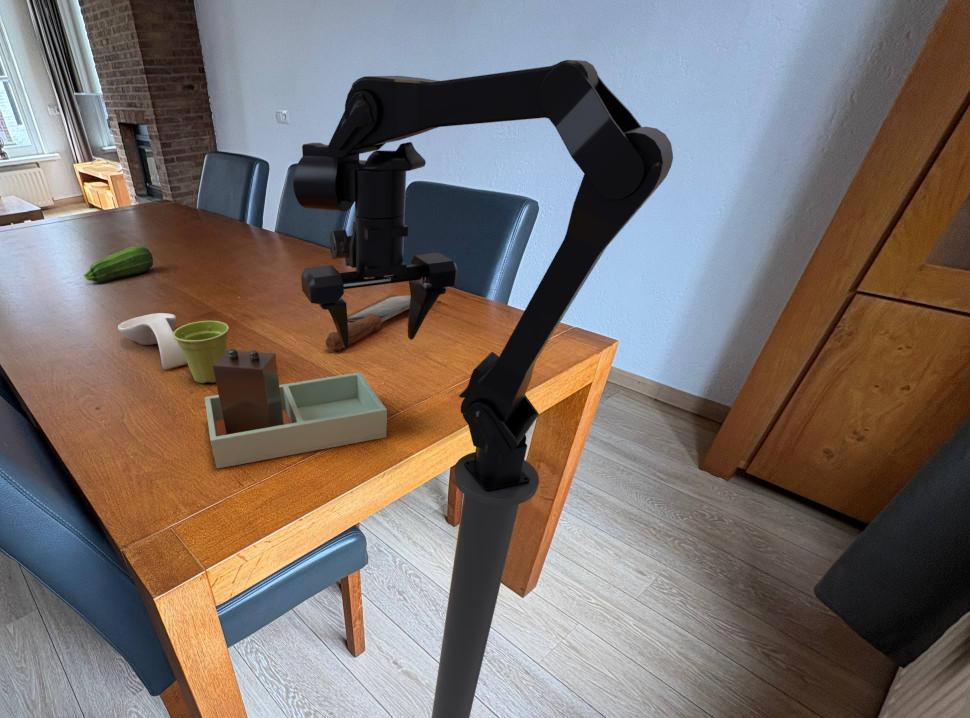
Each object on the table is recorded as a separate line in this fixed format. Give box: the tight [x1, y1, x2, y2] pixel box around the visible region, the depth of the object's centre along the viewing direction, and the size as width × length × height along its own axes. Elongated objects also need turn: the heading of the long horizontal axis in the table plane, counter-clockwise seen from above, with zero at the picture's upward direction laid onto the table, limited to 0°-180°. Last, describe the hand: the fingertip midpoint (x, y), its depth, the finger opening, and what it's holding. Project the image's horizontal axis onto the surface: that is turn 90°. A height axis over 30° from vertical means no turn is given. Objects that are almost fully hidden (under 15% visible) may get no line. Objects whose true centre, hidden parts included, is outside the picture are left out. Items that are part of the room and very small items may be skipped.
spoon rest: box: [117, 312, 188, 370], centre depth 101 cm, size 24×12×7 cm, turn 32°
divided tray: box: [204, 371, 388, 469], centre depth 75 cm, size 13×24×5 cm, turn 105°
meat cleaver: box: [325, 294, 411, 352], centre depth 109 cm, size 34×11×4 cm, turn 140°
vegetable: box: [83, 245, 154, 284], centre depth 144 cm, size 7×7×20 cm
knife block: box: [213, 348, 284, 435], centre depth 71 cm, size 5×7×13 cm
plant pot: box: [173, 320, 230, 384], centre depth 89 cm, size 9×9×9 cm
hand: (378, 343), depth 68 cm, fingers open, 9 cm apart
